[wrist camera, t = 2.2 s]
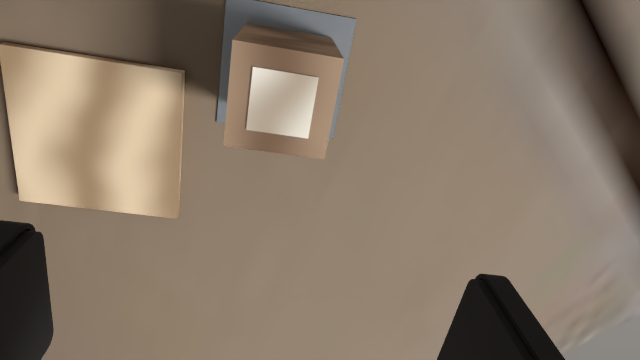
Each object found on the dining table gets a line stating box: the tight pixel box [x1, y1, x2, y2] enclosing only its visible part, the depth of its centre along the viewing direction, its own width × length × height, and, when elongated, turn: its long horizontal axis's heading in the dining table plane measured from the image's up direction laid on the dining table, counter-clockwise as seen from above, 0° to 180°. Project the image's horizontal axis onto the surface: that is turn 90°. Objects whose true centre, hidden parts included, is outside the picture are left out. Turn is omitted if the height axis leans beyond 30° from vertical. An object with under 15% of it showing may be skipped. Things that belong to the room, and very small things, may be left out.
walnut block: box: [223, 23, 344, 159], centre depth 28 cm, size 6×6×8 cm
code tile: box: [217, 0, 357, 139], centre depth 32 cm, size 9×9×1 cm
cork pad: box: [0, 42, 185, 219], centre depth 32 cm, size 12×12×1 cm
